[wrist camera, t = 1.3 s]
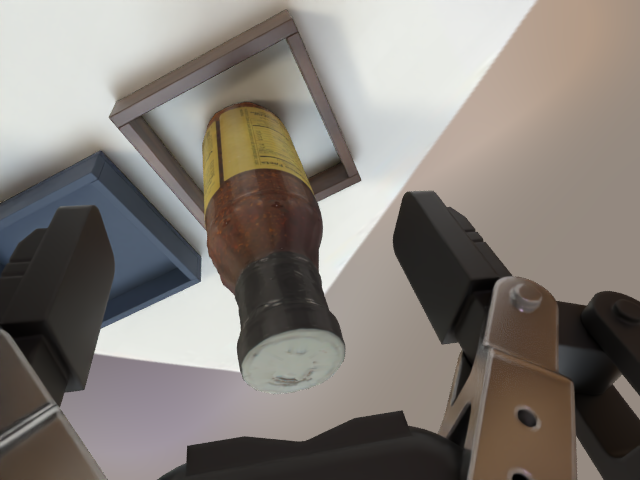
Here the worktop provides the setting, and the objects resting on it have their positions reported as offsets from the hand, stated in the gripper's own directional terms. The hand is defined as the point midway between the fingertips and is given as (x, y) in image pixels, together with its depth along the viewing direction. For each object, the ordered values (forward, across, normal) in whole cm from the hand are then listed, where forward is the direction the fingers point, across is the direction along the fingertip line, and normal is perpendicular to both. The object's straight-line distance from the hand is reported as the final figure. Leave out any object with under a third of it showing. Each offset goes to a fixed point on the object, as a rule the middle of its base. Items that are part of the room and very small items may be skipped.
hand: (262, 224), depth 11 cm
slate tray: (+19, +12, +16) cm, 28 cm away
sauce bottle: (+20, -1, +7) cm, 21 cm away
